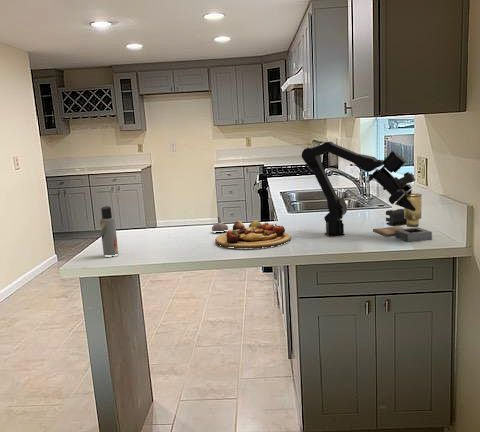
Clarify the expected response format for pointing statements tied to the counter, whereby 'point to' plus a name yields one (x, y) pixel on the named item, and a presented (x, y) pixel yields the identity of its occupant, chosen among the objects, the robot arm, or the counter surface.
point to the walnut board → (387, 231)
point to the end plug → (413, 215)
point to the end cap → (396, 217)
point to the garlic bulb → (219, 226)
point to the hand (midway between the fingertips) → (416, 209)
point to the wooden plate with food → (253, 236)
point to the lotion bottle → (108, 232)
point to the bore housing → (413, 234)
